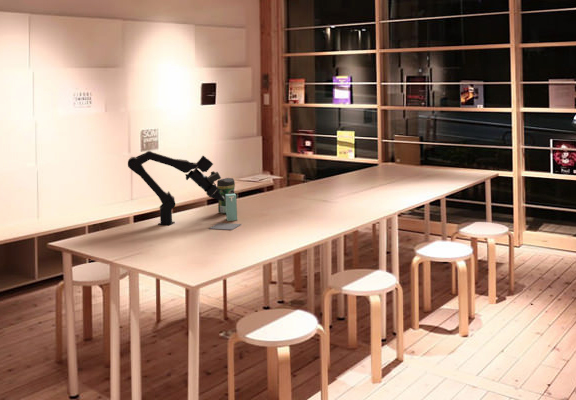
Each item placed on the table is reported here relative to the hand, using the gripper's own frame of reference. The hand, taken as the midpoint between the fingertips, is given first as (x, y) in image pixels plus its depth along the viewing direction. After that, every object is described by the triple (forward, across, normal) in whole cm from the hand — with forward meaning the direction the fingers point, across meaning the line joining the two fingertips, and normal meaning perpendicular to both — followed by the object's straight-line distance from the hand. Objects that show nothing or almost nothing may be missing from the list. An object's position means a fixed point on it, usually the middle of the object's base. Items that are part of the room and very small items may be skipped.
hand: (222, 199), depth 357 cm
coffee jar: (+11, +19, +5) cm, 22 cm away
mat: (+7, -16, +9) cm, 19 cm away
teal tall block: (+11, 0, +5) cm, 12 cm away
